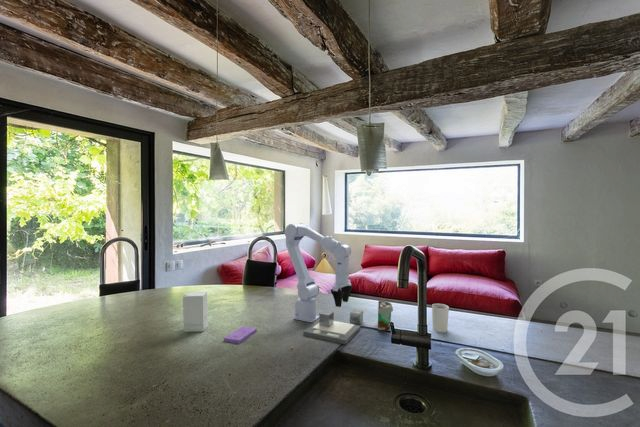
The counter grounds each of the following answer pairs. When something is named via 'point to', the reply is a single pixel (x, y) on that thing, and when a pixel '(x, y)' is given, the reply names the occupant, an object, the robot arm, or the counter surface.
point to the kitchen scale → (333, 332)
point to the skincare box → (195, 311)
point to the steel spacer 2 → (356, 317)
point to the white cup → (440, 317)
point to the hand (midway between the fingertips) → (341, 304)
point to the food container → (384, 315)
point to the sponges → (240, 334)
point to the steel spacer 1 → (326, 318)
